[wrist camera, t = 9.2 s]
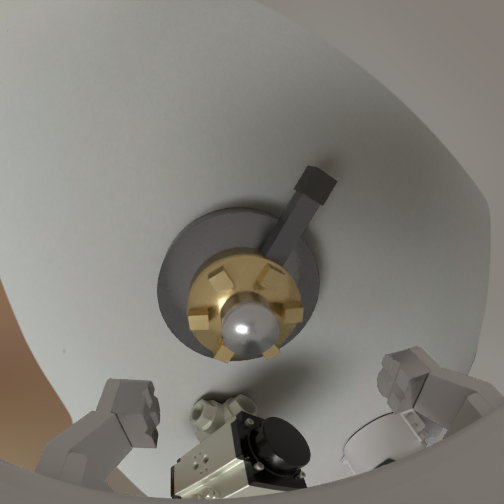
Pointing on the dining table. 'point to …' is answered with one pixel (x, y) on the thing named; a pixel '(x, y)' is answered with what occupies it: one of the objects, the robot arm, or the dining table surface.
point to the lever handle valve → (257, 272)
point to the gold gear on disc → (241, 304)
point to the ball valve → (239, 454)
